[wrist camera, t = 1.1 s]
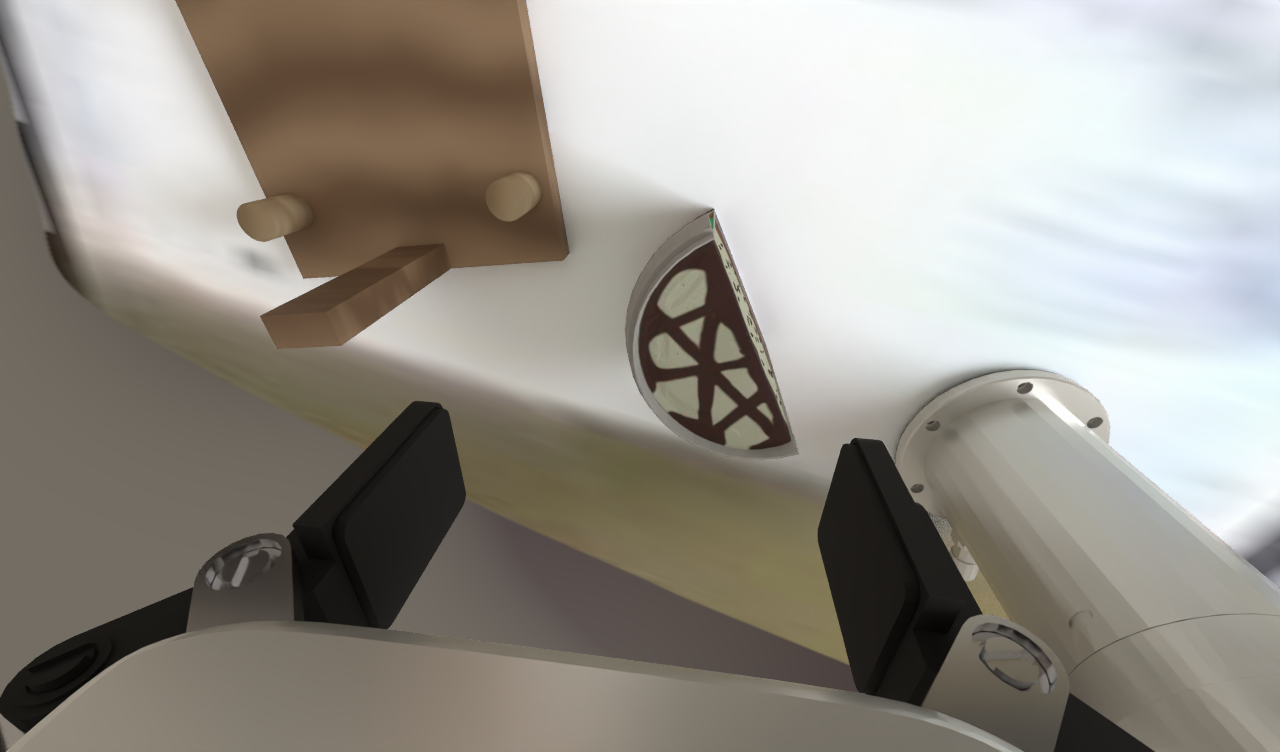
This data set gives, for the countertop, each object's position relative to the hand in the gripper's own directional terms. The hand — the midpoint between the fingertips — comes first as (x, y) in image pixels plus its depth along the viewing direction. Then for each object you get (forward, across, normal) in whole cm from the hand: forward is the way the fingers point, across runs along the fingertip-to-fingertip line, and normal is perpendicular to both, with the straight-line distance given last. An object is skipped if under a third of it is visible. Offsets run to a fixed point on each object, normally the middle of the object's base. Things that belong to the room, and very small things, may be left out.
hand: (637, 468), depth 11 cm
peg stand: (+19, +16, -8) cm, 26 cm away
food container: (+20, -1, +3) cm, 20 cm away
